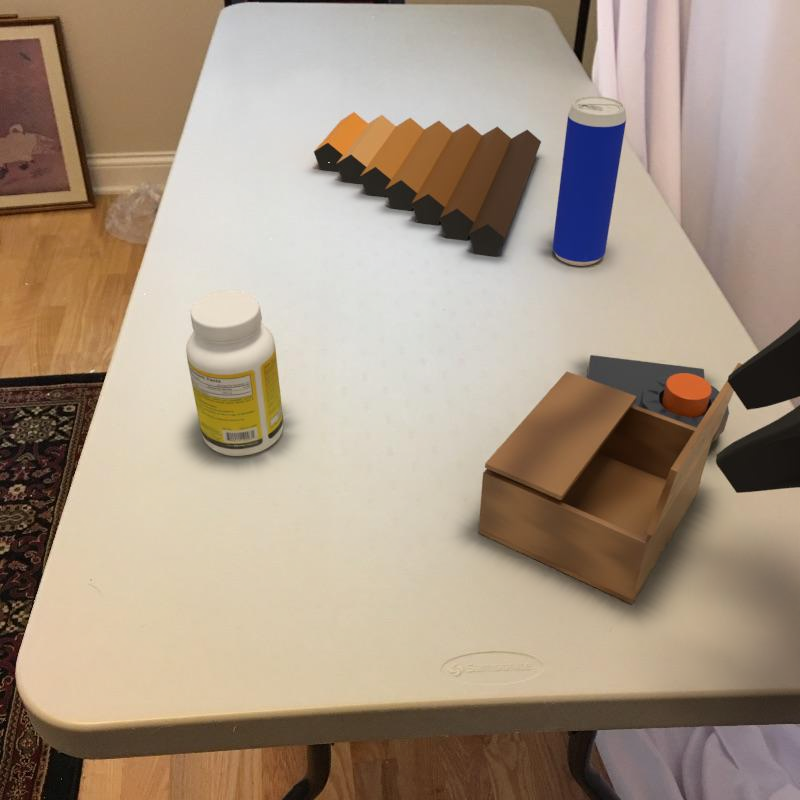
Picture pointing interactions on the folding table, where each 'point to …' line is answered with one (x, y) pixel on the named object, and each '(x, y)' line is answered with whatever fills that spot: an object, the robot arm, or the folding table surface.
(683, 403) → the button
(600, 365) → the control box
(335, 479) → the folding table surface
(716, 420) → the flap
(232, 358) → the pill bottle
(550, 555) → the carton
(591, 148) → the beverage can
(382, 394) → the folding table surface
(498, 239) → the pan flute
